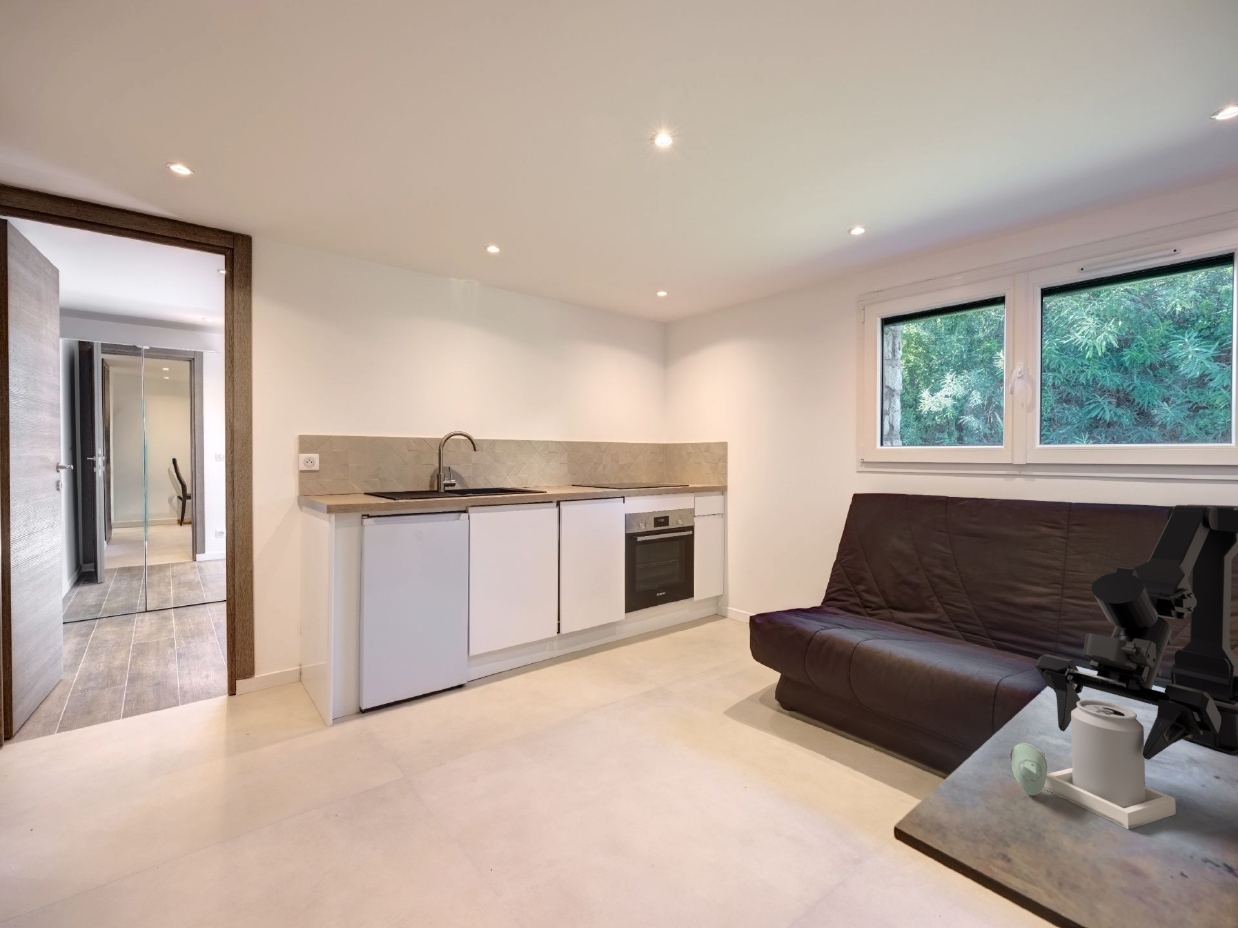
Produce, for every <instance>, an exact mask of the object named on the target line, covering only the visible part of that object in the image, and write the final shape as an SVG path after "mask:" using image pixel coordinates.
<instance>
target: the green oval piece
mask: <svg viewBox="0 0 1238 928" xmlns="http://www.w3.org/2000/svg"><path fill="white" fill-rule="evenodd" d="M1009 755H1010V765H1011V769H1012V773H1013V774H1014V775H1013V776H1014V777H1015V779H1016V781H1017V783H1018V785H1019V786H1020V788H1021V789H1022V790H1023V791H1024V792H1025V793H1026V794H1027V795H1029V796H1032V797H1033V796H1035V797H1036V796H1037V795H1038V794H1039V795H1040V793H1041V792H1042V791H1043V790H1044V788H1045V781H1046V775H1047V774H1048V762H1047V759H1046V754H1045V752H1043V751H1041V750H1040V749H1038V748H1037V747H1035V746H1034V745H1033V744H1030V743H1027V742H1020V743H1016V744H1015V745H1014V746H1013V747H1012V749H1011V751H1010V754H1009Z"/></svg>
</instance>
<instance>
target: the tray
mask: <svg viewBox="0 0 1238 928" xmlns="http://www.w3.org/2000/svg"><path fill="white" fill-rule="evenodd" d="M1044 790H1045V791H1047V790H1048V792H1049V791H1050V793H1051V792H1053V793H1054V795H1055V794H1056V796H1057V795H1058V797H1060V796H1061V797H1060V798H1061V799H1064V800H1066V799H1067V800H1066V801H1068V802H1070V801H1071V802H1070V803H1073V804H1074V805H1076V806H1079V807H1080V806H1081V808H1082V809H1084V810H1086V811H1088V812H1091V813H1092V814H1095V815H1097V816H1099V817H1100V818H1103V819H1105V820H1107V821H1110V822H1111V823H1114V824H1115V825H1118V826H1120V827H1122V828H1124V829H1126V830H1132V829H1134V828H1137V827H1141V826H1144V825H1146V824H1151V823H1154V822H1156V821H1159V820H1162V819H1165V818H1169V817H1171V816H1175V815H1176V798H1175V797H1172V796H1169V795H1168V794H1165V793H1163V792H1160V791H1159V790H1155V789H1152V788H1150V787H1148V786H1146V785H1145V795H1146V802H1144V803H1141V804H1137V805H1134V806H1131V807H1127V808H1122V807H1120V806H1118V805H1115V804H1113V803H1111V802H1109V801H1107V800H1104V799H1102V798H1100V797H1098V796H1096V795H1093V794H1091V793H1089V792H1087V791H1085V790H1083V789H1080V788H1078V787H1076V786H1075V785H1074V783H1073V776H1072V767H1070V768H1065V769H1062V770H1058V771H1054V772H1049V773H1047V775H1046V781H1045V784H1044ZM1053 793H1052V794H1053Z"/></svg>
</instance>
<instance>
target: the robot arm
mask: <svg viewBox="0 0 1238 928" xmlns="http://www.w3.org/2000/svg"><path fill="white" fill-rule="evenodd" d="M1237 555H1238V505H1222V504H1221V505H1218V504H1217V505H1215V504H1176V505H1175V506H1174V505H1173V506H1172V505H1171V506H1170V507H1169V509H1168V511H1167V522H1166V524H1165V526H1164V528H1163V531H1162V532H1161V535H1160V537H1159V538H1158V541H1157V543H1156V544H1155V547H1154V549H1153V550H1152V553H1151V555H1150V556H1149V559H1148V560H1147V562H1145V563H1143V564H1139V565H1137V566H1135V567H1133V568H1128V567H1117V568H1116V570H1115V572H1112V573H1107V574H1105V575H1102V576H1100V577H1098V578H1097V579H1096V580H1094V581H1093V582H1092V584H1091V592H1092V594H1093V595H1094V598H1095V599H1096V601H1097V603H1098V605H1099V607H1100V608H1101V611H1102V612H1103V614H1104V616H1105V617H1106V619H1107V620H1108V622H1110V623H1111V624H1112V625H1113V626H1115V627H1114V629H1113V632H1112V634H1111V636H1106V635H1105V636H1104V635H1101V634H1095V633H1088V632H1087V633H1086V634H1085V635H1086V636H1085V640H1084V645H1083V650H1082V656H1083V657H1084V658H1085V657H1087V658H1089V660H1090V662H1089V665H1090V667H1091V669H1092V670H1095V671H1096V672H1097V673H1096V675H1095V674H1091V673H1088V672H1083V671H1080V670H1079V668H1078V667H1077V665H1076V663H1075V662H1074V661H1073V659H1069V658H1065V657H1060V656H1056V655H1051V654H1043V655H1041V656H1040V657H1039V658H1038V659H1037V662H1036V664H1035V668H1036V670H1037V671H1038V673H1039V674H1040V675H1041V677H1042V679H1043V680H1044V682H1045V683H1046V685H1047V687H1048V688H1050V689H1052V690H1053V691H1054V693H1055V697H1056V708H1057V709H1056V710H1057V711H1056V713H1057V724H1058V728H1059V730H1060V732H1065V731H1066V730H1067V729H1068V727H1069V726H1070V724H1071V711H1072V710H1074V709H1075V708H1077V707H1078V706H1077V702H1078V701H1080V700H1082V699H1081V697H1079V694H1080V693H1082V691H1083V689H1084V687H1085V688H1089V689H1092V690H1096V691H1099V692H1103V693H1107V694H1111V695H1113V696H1117V697H1121V698H1125V699H1130V700H1134V701H1137V702H1140V703H1145V704H1149V705H1151V706H1152V705H1153V706H1156V707H1157V711H1156V713H1157V714H1156V717H1155V720H1154V722H1153V724H1152V727H1151V729H1150V731H1149V733H1148V736H1147V738H1146V740H1145V741H1144V749H1143V756H1144V758H1145V760H1148V761H1149V760H1152V758H1154V757H1156V756H1157V755H1158V754H1159V753H1161V752H1163V750H1167V748H1169V747H1170V746H1171V745H1174V744H1175V743H1177V742H1179V741H1181V740H1186V741H1190V742H1193V743H1196V744H1199V745H1202V746H1205V747H1208V748H1211V749H1214V750H1216V751H1220V752H1222V753H1226V754H1228V755H1234V754H1238V657H1237V656H1236V654H1235V652H1234V651H1233V650H1232V648H1231V642H1230V641H1231V615H1232V614H1231V609H1232V571H1233V570H1232V567H1233V564H1232V563H1233V559H1234V557H1236V556H1237ZM1190 575H1191V585H1190V583H1189V577H1190ZM1188 615H1190V623H1189V624H1190V626H1189V641H1188V642H1187V643H1186V644H1185V646H1183V647H1182V648H1181V649H1177V650H1176V652H1175V653H1174V663H1173V664H1172V665H1171V668H1170V681H1171V683H1169V684H1166V686H1165V689H1164V691H1160V690H1155V689H1153V686H1154V683H1155V680H1156V678H1157V677H1158V678H1161V676H1162V673H1163V670H1162V669H1161V663H1162V660H1163V657H1164V654H1165V652H1166V649H1167V646H1169V645H1170V646H1171V645H1172V642H1173V641H1172V636H1171V634H1172V627H1171V626H1170V624H1169V623H1168V621H1167V620H1165V618H1166V619H1169V620H1170V619H1171V620H1180V621H1181V620H1184V619H1186V618H1187V616H1188Z"/></svg>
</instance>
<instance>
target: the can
mask: <svg viewBox="0 0 1238 928" xmlns="http://www.w3.org/2000/svg"><path fill="white" fill-rule="evenodd" d="M1137 718H1138V713H1136V712H1135V711H1134V710H1132V709H1130V708H1128V707H1126V706H1124V705H1120V704H1116V703H1112V702H1108V701H1102V700H1095V699H1081V700H1080V701H1078V702H1077V708H1075V709H1074V710H1072V711H1071V722H1070V724H1071V725H1070V726H1071V729H1070V730H1071V765H1072V767H1071V768H1072V776H1073V783H1074V785H1075V786H1076V787H1078V788H1080V789H1083V790H1085V791H1087V792H1089V793H1091V794H1093V795H1096V796H1098V797H1100V798H1102V799H1104V800H1107V801H1109V802H1111V803H1113V804H1115V805H1118V806H1120V807H1122V808H1127V807H1131V806H1134V805H1137V804H1141V803H1144V802H1146V795H1145V786H1146V769H1145V766H1146V763H1145V760H1146V759H1145V758H1144V756H1143V749H1144V745H1145V735H1144V734H1145V733H1144V732H1145V729H1144V728H1145V727H1144V725H1143V724H1142V723H1141V722H1140V721H1139V720H1138V719H1137Z"/></svg>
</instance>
